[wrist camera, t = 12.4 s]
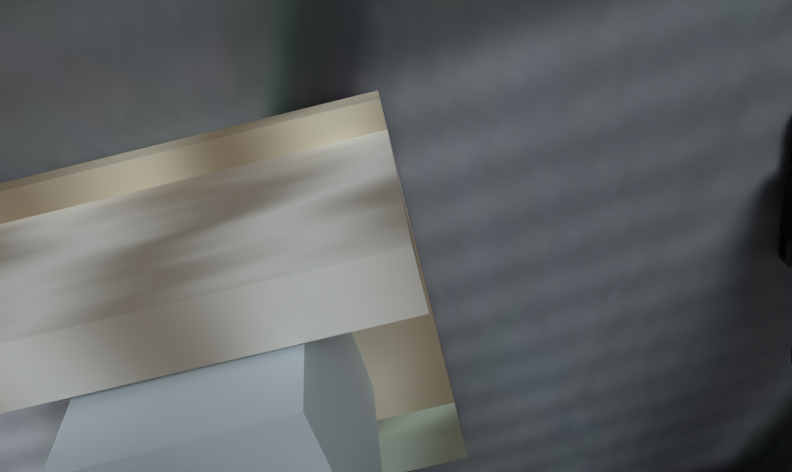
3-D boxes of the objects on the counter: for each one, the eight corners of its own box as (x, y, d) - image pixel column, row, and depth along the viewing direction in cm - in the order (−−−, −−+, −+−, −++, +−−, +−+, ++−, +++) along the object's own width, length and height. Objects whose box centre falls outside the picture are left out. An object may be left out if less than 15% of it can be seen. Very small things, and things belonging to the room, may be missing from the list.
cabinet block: (306, 214, 21) (303, 412, 14) (380, 403, 26) (402, 614, 20) (123, 263, 21) (40, 479, 15) (231, 441, 26) (204, 661, 20)
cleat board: (378, 90, 20) (402, 208, 14) (463, 438, 29) (499, 592, 23) (-15, 187, 20) (-137, 338, 15) (190, 500, 29) (162, 666, 24)
